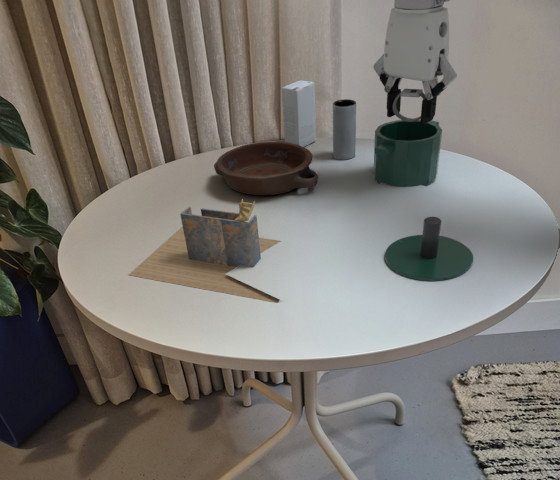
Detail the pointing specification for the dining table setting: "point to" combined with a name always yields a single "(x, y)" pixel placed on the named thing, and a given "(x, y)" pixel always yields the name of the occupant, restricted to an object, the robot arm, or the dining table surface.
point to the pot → (407, 153)
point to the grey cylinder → (344, 129)
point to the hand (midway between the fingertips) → (409, 117)
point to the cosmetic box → (299, 113)
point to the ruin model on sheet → (210, 252)
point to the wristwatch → (408, 94)
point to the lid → (429, 255)
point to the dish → (267, 168)
